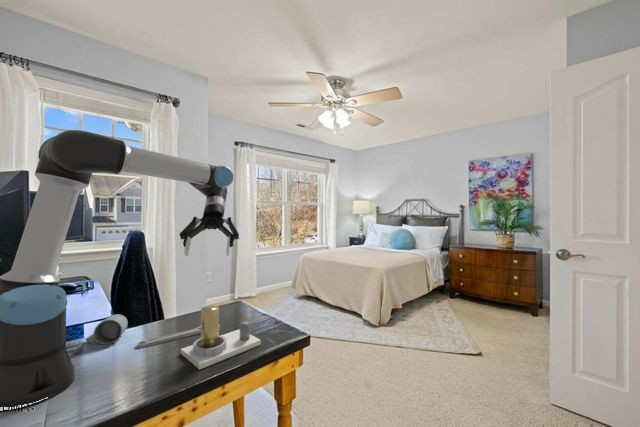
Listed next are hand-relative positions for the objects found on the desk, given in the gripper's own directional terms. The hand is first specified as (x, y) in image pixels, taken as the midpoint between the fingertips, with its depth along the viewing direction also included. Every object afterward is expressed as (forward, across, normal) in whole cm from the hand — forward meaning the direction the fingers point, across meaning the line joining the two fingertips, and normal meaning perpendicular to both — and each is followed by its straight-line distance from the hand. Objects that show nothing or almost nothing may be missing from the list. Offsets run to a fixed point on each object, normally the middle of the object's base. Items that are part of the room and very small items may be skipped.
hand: (207, 253), depth 99 cm
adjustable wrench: (+20, +8, -20) cm, 29 cm away
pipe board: (+28, -7, -11) cm, 31 cm away
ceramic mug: (+20, +30, -20) cm, 41 cm away
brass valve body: (+29, -4, -8) cm, 30 cm away
